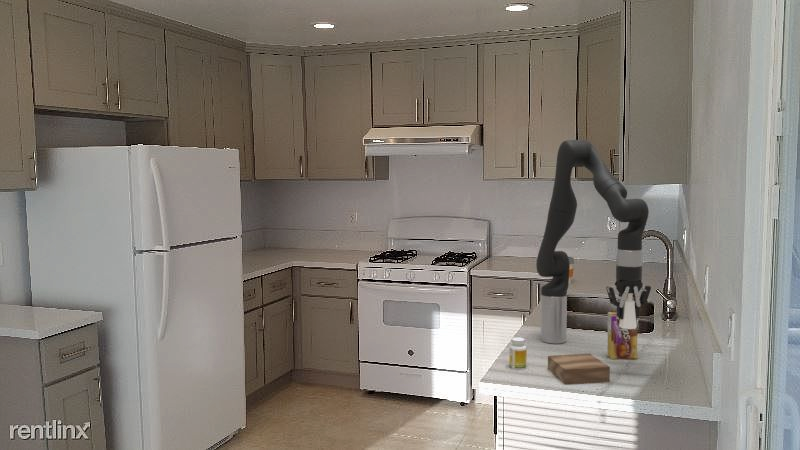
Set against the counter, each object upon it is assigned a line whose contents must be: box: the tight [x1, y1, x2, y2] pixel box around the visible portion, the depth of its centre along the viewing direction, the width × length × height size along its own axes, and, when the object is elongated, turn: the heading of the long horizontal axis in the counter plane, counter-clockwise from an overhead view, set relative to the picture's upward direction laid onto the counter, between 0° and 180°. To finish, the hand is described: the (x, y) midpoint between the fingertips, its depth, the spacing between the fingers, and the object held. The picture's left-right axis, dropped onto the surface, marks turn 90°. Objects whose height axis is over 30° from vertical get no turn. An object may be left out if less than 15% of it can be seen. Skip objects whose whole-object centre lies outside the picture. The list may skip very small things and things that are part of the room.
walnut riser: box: [547, 353, 611, 385], centre depth 195 cm, size 14×14×5 cm
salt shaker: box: [619, 293, 638, 329], centre depth 195 cm, size 5×5×11 cm
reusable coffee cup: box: [568, 256, 575, 285], centre depth 345 cm, size 13×12×15 cm
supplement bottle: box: [508, 337, 528, 371], centre depth 203 cm, size 5×5×10 cm
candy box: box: [607, 311, 638, 360], centre depth 213 cm, size 9×4×15 cm, turn 89°
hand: (627, 318), depth 196 cm, fingers closed on salt shaker, 4 cm apart
